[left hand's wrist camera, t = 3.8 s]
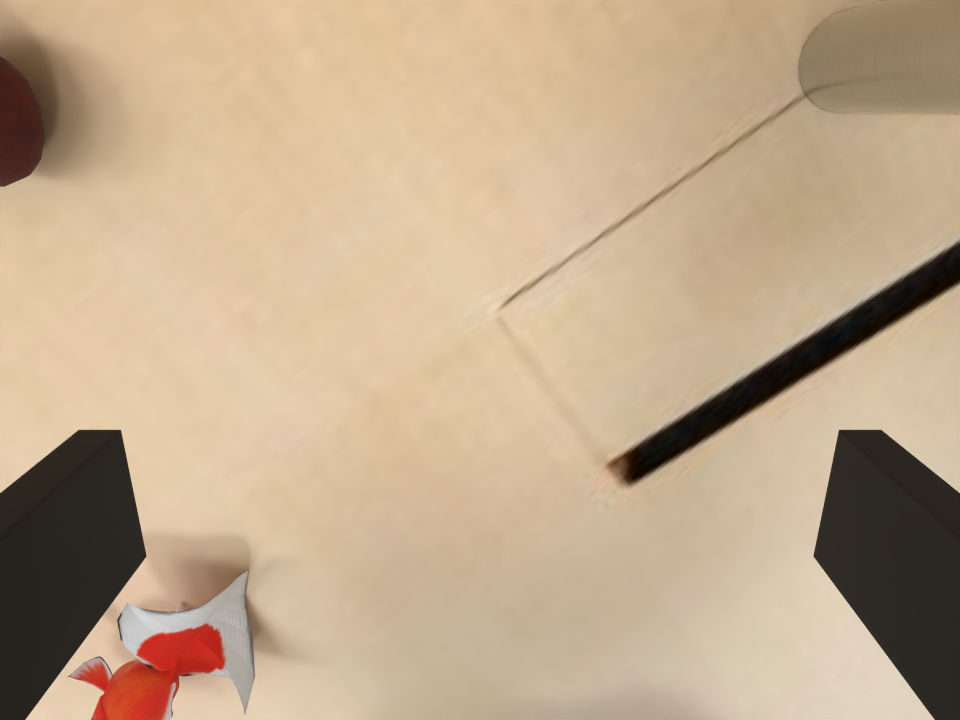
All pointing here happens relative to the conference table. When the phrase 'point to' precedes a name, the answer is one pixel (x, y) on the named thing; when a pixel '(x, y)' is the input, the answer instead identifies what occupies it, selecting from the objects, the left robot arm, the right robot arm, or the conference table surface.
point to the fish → (174, 655)
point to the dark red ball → (18, 126)
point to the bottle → (886, 59)
